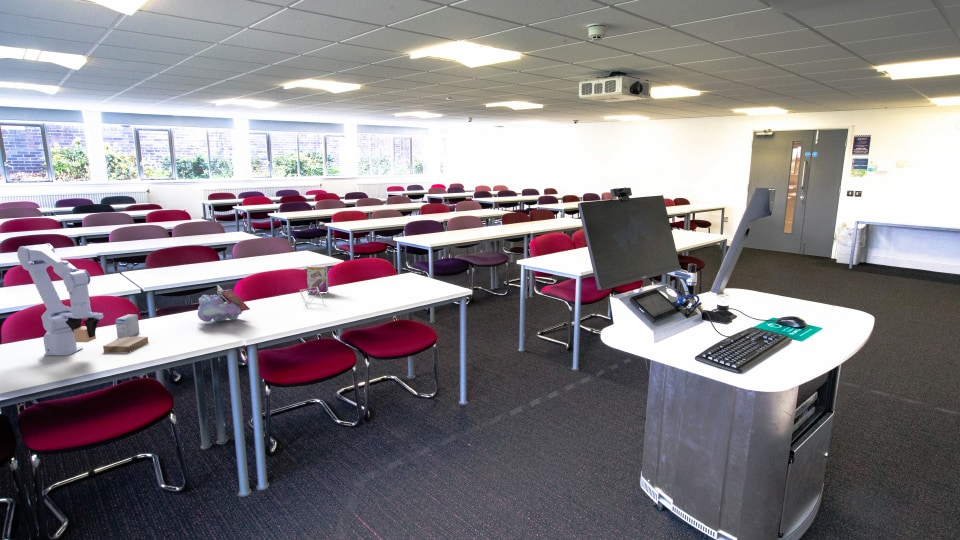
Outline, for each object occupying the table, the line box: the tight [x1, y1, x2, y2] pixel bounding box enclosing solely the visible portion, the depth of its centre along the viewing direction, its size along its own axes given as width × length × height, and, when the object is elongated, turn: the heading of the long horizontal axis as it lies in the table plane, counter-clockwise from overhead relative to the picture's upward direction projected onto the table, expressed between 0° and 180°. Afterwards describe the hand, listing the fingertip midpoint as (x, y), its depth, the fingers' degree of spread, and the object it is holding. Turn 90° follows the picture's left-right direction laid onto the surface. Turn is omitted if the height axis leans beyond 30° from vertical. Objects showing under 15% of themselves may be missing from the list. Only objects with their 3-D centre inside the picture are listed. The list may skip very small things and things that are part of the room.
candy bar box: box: [306, 265, 329, 293], centre depth 301 cm, size 11×5×16 cm, turn 93°
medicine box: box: [114, 313, 140, 339], centre depth 222 cm, size 8×4×9 cm, turn 178°
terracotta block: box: [74, 325, 97, 343], centre depth 194 cm, size 4×4×5 cm
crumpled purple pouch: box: [197, 284, 251, 323], centre depth 242 cm, size 20×22×18 cm
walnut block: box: [102, 336, 149, 353], centre depth 208 cm, size 10×12×3 cm
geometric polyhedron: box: [299, 287, 325, 308], centre depth 275 cm, size 12×11×9 cm
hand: (85, 336), depth 195 cm, fingers closed on terracotta block, 4 cm apart
